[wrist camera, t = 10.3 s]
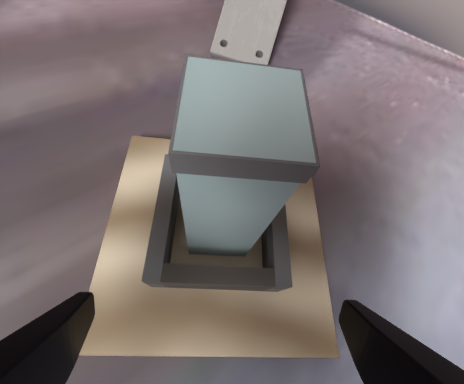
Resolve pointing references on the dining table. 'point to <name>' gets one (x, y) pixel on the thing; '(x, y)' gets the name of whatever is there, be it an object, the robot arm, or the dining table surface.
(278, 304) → the post socket
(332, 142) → the dining table surface
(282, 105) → the rail end post
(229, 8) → the door handle
